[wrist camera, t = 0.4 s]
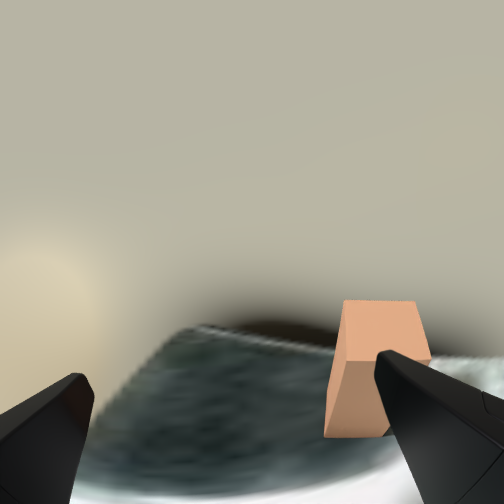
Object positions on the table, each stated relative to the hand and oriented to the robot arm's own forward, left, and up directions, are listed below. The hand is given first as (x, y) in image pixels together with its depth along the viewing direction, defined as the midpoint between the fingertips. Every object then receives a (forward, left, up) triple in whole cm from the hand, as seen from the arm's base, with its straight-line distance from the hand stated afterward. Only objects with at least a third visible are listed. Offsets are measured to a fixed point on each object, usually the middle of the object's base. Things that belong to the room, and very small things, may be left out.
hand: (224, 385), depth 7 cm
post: (+5, -9, -16) cm, 19 cm away
